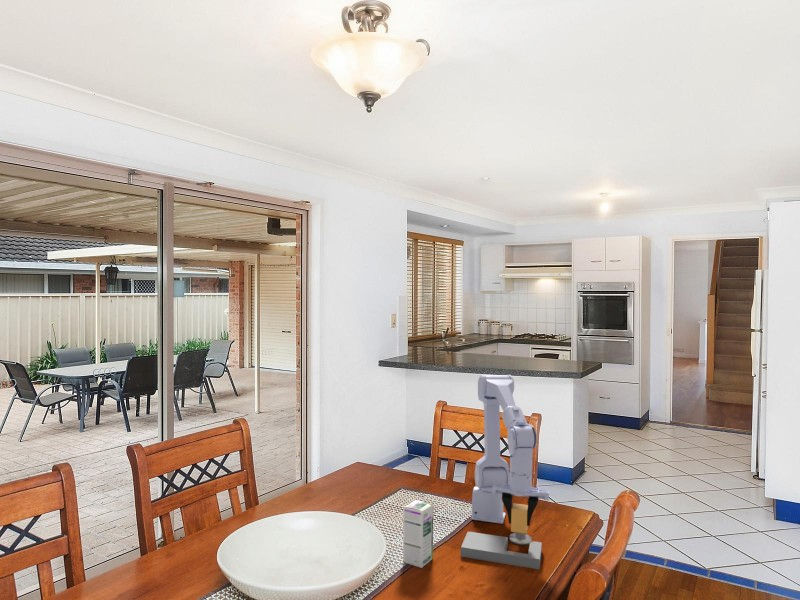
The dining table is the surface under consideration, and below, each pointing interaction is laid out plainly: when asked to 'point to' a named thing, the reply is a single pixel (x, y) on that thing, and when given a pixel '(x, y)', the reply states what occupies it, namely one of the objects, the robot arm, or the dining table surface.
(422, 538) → the syrup box
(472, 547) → the board
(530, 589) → the dining table surface
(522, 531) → the tab block
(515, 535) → the bobbin post
